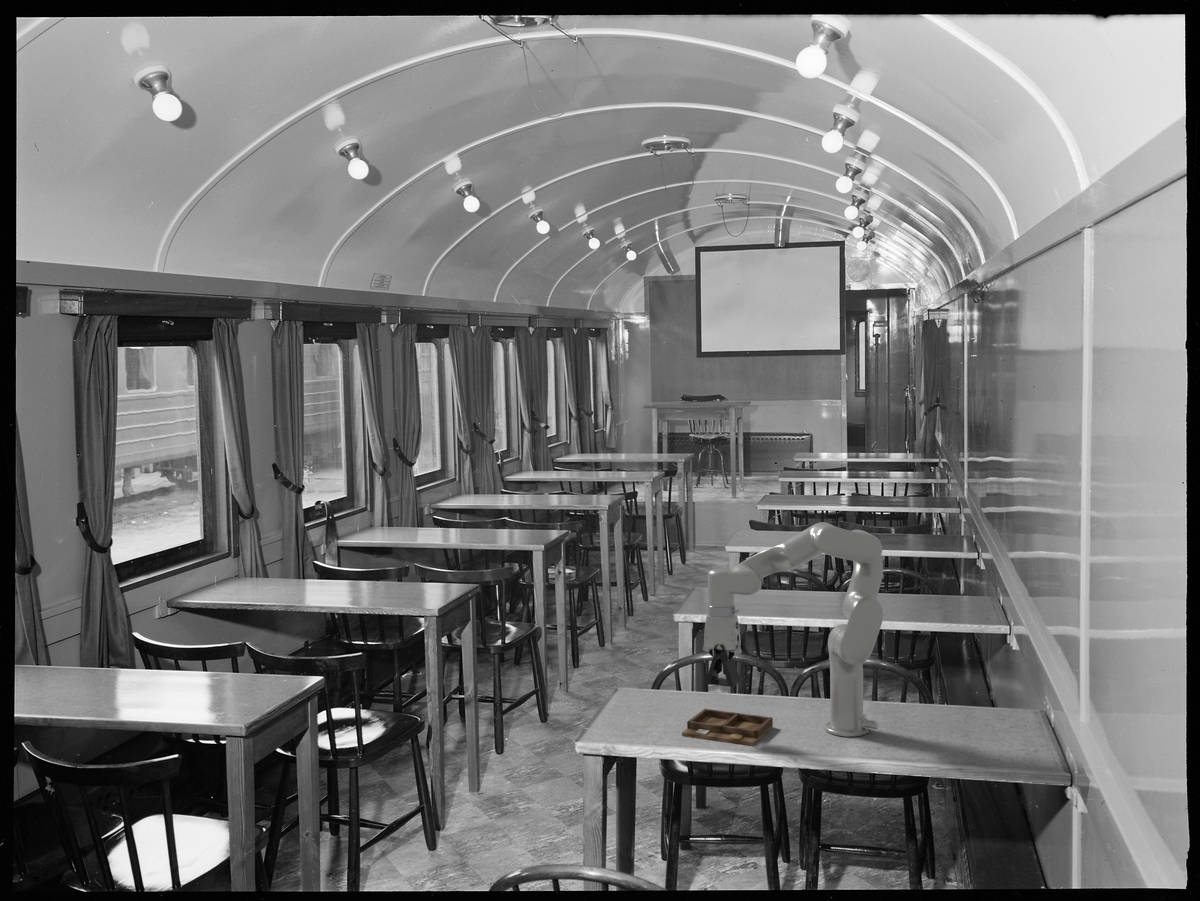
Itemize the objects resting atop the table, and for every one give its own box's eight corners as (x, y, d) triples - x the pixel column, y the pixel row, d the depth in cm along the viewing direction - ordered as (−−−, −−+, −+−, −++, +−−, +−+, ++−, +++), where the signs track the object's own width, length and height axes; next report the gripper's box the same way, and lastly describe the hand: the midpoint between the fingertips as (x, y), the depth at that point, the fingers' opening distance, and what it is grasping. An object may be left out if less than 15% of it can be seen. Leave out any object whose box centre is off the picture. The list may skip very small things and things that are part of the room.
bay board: (772, 727, 322) (772, 717, 322) (752, 745, 306) (752, 735, 306) (704, 718, 333) (704, 708, 332) (682, 735, 317) (681, 725, 316)
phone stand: (740, 681, 316) (739, 641, 315) (733, 687, 310) (732, 646, 309) (712, 678, 320) (711, 639, 319) (704, 683, 314) (703, 643, 314)
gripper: (751, 610, 313) (752, 672, 315) (701, 606, 321) (702, 667, 322) (742, 615, 307) (743, 678, 308) (691, 611, 314) (693, 673, 315)
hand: (722, 672), depth 315 cm, fingers closed on phone stand, 1 cm apart
